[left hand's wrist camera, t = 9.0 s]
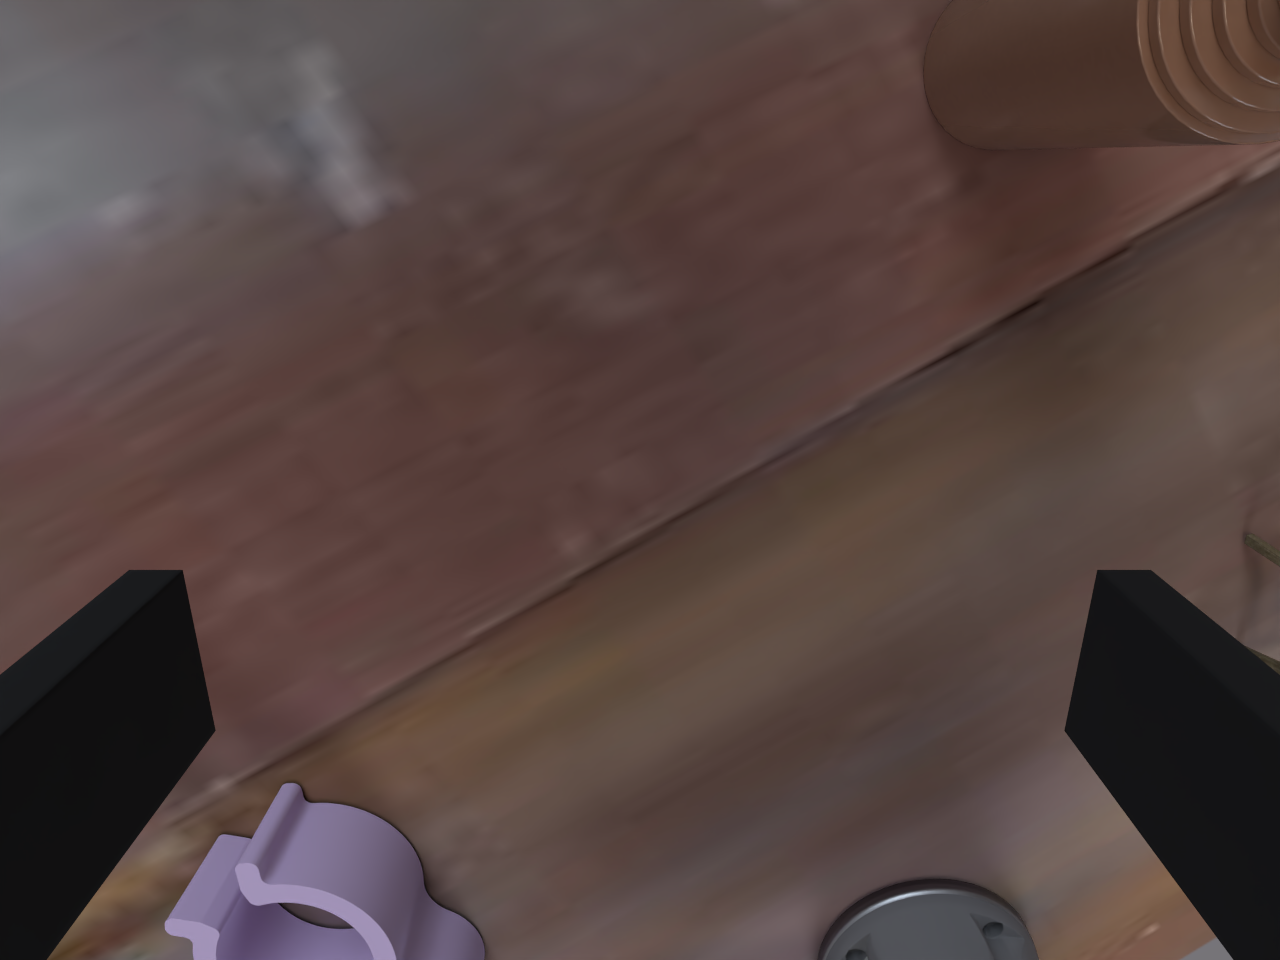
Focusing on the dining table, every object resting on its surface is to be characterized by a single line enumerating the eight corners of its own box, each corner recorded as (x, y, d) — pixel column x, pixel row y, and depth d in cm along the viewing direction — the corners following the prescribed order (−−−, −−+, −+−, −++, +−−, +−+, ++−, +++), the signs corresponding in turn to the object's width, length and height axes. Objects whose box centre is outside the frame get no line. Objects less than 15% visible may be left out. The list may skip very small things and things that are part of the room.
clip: (524, 935, 62) (510, 1027, 55) (403, 1018, 65) (376, 1114, 58) (313, 760, 57) (270, 838, 50) (191, 858, 59) (135, 944, 53)
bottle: (1122, 19, 42) (1703, -149, 19) (1027, 178, 44) (1439, 199, 21) (981, -63, 41) (1421, -348, 18) (892, 105, 43) (1177, 44, 20)
